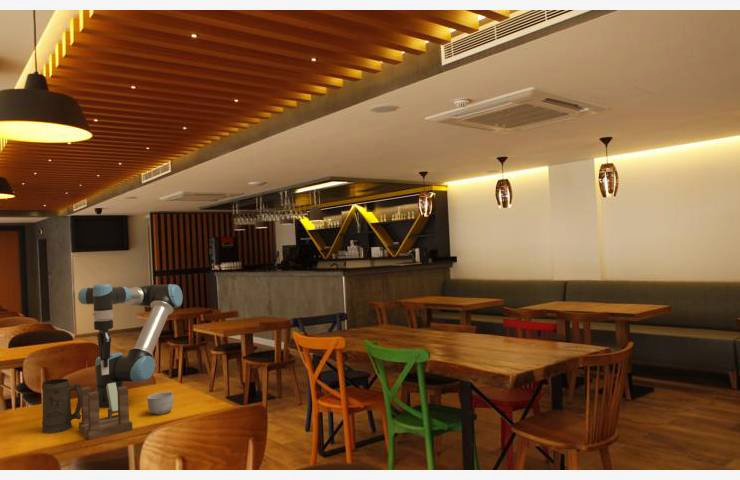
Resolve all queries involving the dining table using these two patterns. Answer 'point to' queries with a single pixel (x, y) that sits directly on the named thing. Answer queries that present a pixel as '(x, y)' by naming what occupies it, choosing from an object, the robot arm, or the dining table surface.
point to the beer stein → (59, 405)
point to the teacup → (160, 402)
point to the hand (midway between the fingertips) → (105, 374)
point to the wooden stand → (106, 425)
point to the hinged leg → (112, 397)
